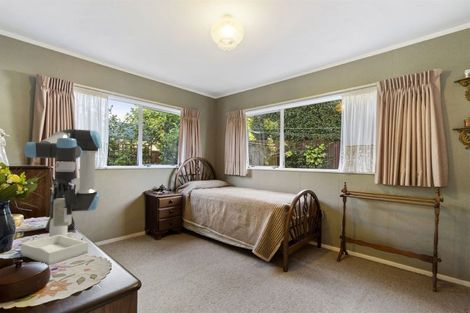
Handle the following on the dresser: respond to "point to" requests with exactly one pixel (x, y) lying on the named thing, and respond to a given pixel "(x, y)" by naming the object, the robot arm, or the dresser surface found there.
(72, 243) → the tray
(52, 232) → the pill bottle
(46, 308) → the dresser surface
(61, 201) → the skincare box
